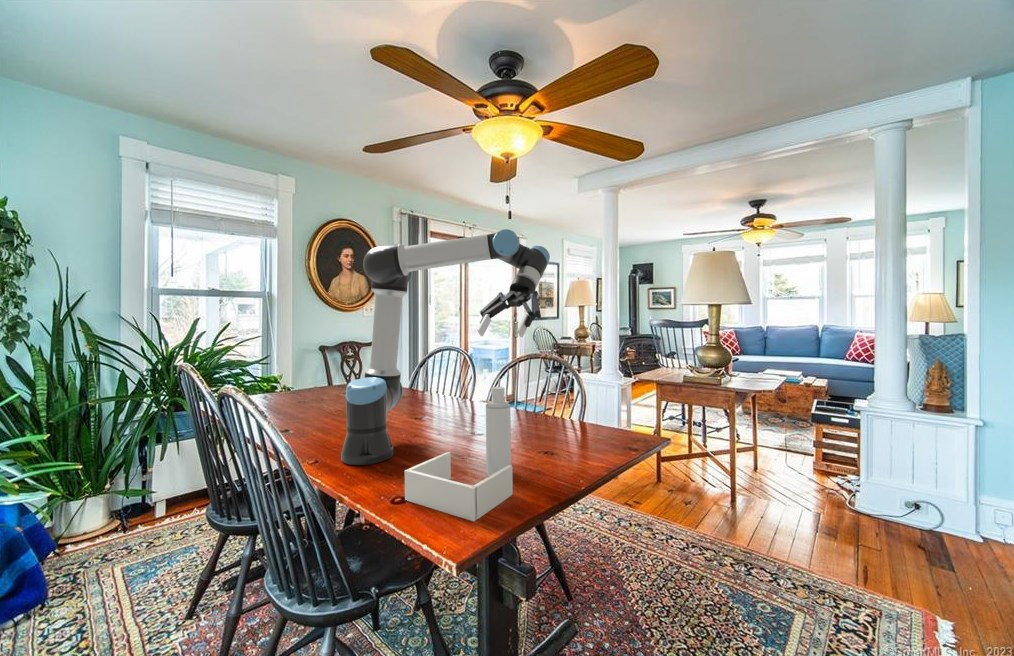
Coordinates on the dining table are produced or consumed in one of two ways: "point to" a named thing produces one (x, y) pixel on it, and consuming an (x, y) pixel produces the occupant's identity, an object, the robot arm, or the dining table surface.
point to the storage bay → (455, 489)
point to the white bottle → (498, 432)
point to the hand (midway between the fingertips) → (499, 333)
